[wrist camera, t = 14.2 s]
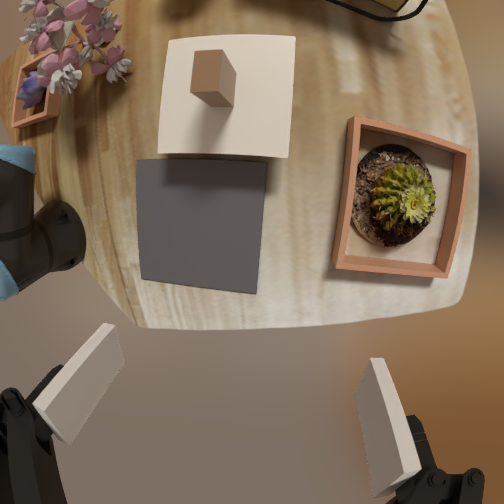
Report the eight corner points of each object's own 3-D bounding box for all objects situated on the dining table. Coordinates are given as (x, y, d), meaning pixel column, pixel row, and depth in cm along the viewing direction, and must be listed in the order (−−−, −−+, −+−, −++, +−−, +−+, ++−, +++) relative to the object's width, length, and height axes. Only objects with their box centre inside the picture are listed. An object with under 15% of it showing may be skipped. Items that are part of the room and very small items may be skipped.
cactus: (361, 130, 37) (382, 123, 28) (440, 163, 37) (472, 167, 27) (334, 231, 43) (347, 251, 34) (413, 254, 42) (438, 277, 33)
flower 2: (47, 115, 38) (-12, 111, 17) (56, 25, 29) (15, -19, 8) (135, 98, 45) (120, 73, 24) (142, 8, 35) (142, -54, 14)
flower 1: (48, 60, 30) (9, 80, 27) (54, 96, 36) (16, 115, 33) (60, 59, 36) (24, 76, 33) (65, 91, 42) (30, 107, 39)
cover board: (159, 153, 35) (124, 154, 26) (170, 41, 29) (142, 16, 20) (287, 158, 34) (290, 157, 25) (295, 38, 28) (298, 5, 19)
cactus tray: (331, 259, 44) (335, 268, 40) (348, 119, 36) (354, 115, 33) (437, 269, 42) (447, 278, 39) (458, 149, 35) (470, 149, 31)
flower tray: (22, 127, 41) (11, 128, 37) (31, 68, 36) (20, 66, 32) (59, 115, 40) (46, 115, 36) (69, 49, 34) (58, 45, 31)
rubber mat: (142, 277, 49) (141, 278, 49) (138, 159, 42) (136, 159, 41) (256, 292, 48) (256, 293, 47) (267, 162, 40) (266, 162, 40)
